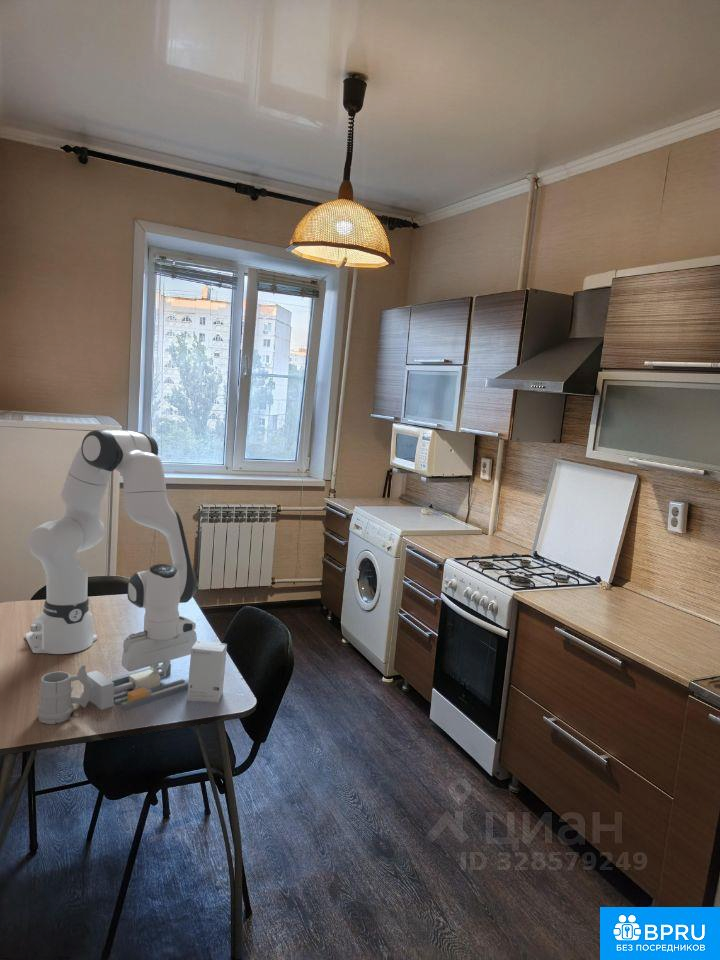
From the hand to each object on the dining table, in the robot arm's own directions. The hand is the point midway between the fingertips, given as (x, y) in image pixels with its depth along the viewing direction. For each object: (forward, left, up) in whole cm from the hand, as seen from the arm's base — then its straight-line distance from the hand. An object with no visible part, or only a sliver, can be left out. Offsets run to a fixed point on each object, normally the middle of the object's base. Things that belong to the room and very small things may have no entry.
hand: (159, 677), depth 167 cm
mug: (-1, -24, -3) cm, 24 cm away
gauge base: (0, -5, -3) cm, 6 cm away
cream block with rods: (+2, -7, -1) cm, 8 cm away
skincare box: (+14, +5, -3) cm, 15 cm away
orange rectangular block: (+6, -9, -1) cm, 11 cm away
